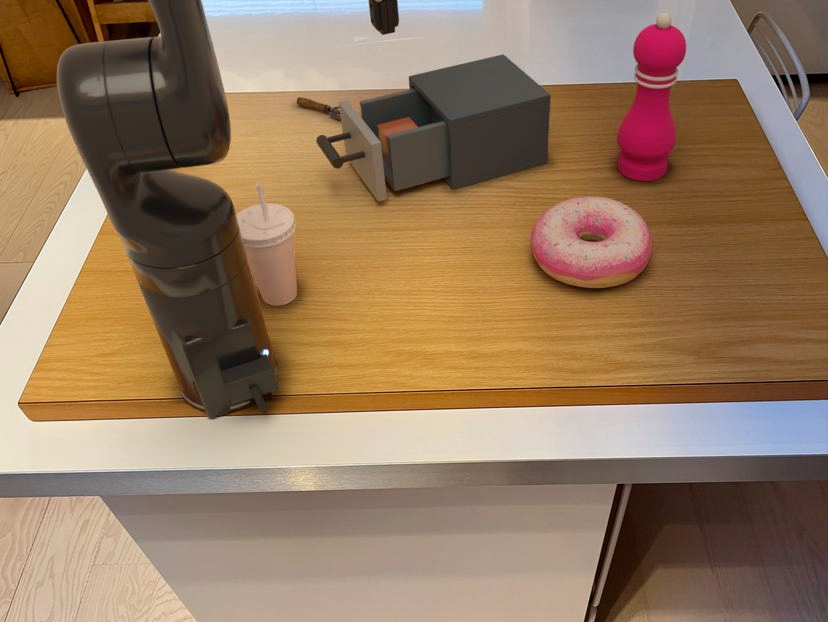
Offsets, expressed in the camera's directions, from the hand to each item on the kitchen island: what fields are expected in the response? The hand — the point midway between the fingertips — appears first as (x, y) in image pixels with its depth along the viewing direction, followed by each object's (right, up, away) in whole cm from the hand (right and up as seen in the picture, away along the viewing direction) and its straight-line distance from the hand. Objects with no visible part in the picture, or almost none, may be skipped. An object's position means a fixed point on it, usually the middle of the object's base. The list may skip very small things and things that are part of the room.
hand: (386, 31), depth 92 cm
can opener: (-12, -2, +25) cm, 28 cm away
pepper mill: (+31, -12, +14) cm, 37 cm away
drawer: (-1, -13, +13) cm, 18 cm away
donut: (+23, -26, +1) cm, 34 cm away
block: (+1, -11, +12) cm, 17 cm away
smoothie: (-11, -30, -3) cm, 32 cm away
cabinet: (+10, -9, +17) cm, 22 cm away
